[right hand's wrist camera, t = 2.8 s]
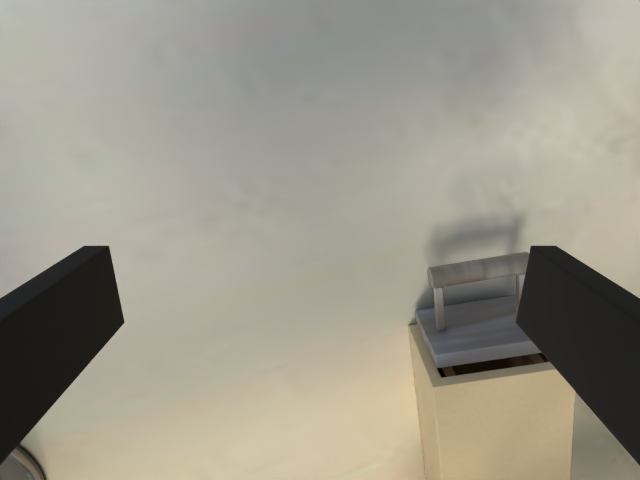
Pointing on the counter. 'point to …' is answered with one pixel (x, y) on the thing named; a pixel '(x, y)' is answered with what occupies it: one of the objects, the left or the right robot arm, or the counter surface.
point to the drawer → (477, 320)
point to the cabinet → (493, 420)
